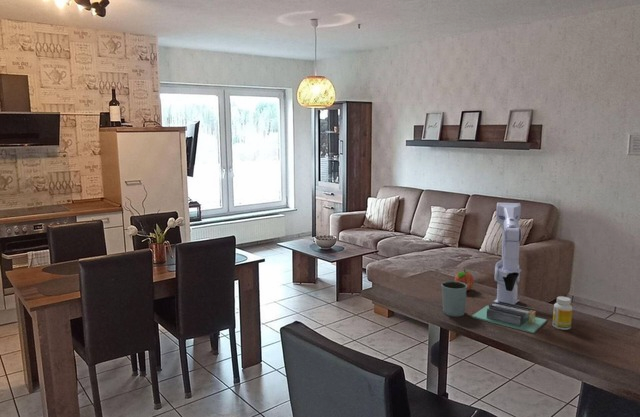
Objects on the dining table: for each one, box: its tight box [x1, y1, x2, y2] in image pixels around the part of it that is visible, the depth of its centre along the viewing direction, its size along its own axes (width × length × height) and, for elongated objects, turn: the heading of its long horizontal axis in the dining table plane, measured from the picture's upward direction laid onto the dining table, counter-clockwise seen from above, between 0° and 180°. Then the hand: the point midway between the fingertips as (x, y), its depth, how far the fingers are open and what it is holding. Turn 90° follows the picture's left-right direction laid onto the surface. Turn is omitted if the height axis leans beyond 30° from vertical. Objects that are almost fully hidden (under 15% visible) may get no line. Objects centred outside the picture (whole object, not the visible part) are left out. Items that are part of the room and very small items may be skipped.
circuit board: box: [471, 305, 547, 334], centre depth 192 cm, size 15×24×1 cm, turn 48°
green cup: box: [440, 280, 467, 317], centre depth 199 cm, size 10×10×12 cm
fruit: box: [454, 269, 475, 291], centre depth 226 cm, size 9×10×10 cm
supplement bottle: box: [551, 295, 573, 331], centre depth 183 cm, size 6×6×11 cm
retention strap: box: [491, 303, 529, 315], centre depth 191 cm, size 14×2×1 cm, turn 48°
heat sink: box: [487, 301, 537, 327], centre depth 191 cm, size 12×17×5 cm
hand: (509, 290), depth 194 cm, fingers closed
